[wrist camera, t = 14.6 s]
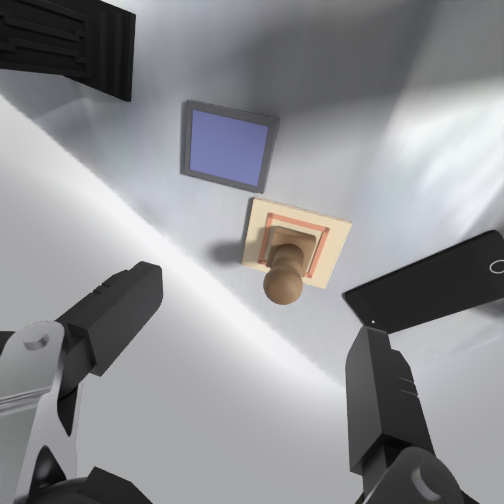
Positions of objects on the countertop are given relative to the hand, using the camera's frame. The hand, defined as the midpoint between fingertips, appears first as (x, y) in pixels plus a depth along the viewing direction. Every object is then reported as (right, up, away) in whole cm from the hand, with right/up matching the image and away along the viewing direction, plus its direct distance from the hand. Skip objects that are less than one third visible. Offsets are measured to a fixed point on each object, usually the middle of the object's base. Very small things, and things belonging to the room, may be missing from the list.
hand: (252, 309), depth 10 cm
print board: (+5, +3, +24) cm, 25 cm away
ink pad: (-3, +14, +20) cm, 25 cm away
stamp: (+5, +3, +24) cm, 24 cm away
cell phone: (+22, -2, +24) cm, 33 cm away
